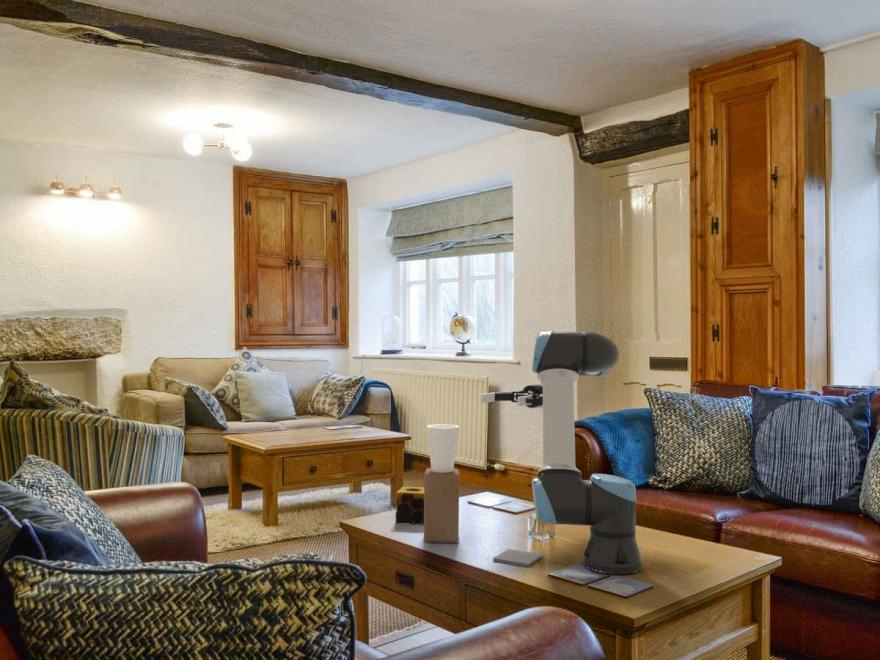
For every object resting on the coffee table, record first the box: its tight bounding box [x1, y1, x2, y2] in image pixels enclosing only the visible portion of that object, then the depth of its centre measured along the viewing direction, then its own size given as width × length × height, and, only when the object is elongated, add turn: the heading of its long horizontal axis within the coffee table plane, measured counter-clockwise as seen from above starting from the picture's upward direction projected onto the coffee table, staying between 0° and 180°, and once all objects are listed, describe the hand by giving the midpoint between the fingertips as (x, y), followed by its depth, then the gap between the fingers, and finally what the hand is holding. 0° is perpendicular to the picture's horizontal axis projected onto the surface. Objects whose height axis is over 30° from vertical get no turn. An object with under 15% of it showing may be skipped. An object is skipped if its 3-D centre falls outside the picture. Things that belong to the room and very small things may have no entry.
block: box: [423, 467, 460, 544], centre depth 226 cm, size 10×10×20 cm
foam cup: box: [426, 423, 460, 473], centre depth 226 cm, size 10×9×13 cm
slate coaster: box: [493, 548, 544, 568], centre depth 207 cm, size 10×10×1 cm
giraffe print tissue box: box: [395, 486, 424, 525], centre depth 247 cm, size 10×10×10 cm
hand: (499, 400), depth 235 cm, fingers open, 13 cm apart
